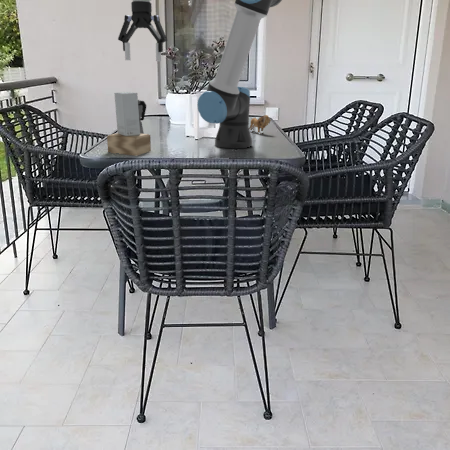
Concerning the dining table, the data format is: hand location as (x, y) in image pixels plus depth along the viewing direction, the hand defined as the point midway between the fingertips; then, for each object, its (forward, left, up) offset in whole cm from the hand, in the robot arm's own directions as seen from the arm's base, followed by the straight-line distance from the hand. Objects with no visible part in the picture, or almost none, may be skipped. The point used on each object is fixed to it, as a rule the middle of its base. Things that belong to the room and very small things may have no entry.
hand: (143, 60), depth 187 cm
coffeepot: (+10, -9, -32) cm, 35 cm away
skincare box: (-6, +23, -26) cm, 35 cm away
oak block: (-7, +23, -32) cm, 40 cm away
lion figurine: (-34, -48, -32) cm, 67 cm away
